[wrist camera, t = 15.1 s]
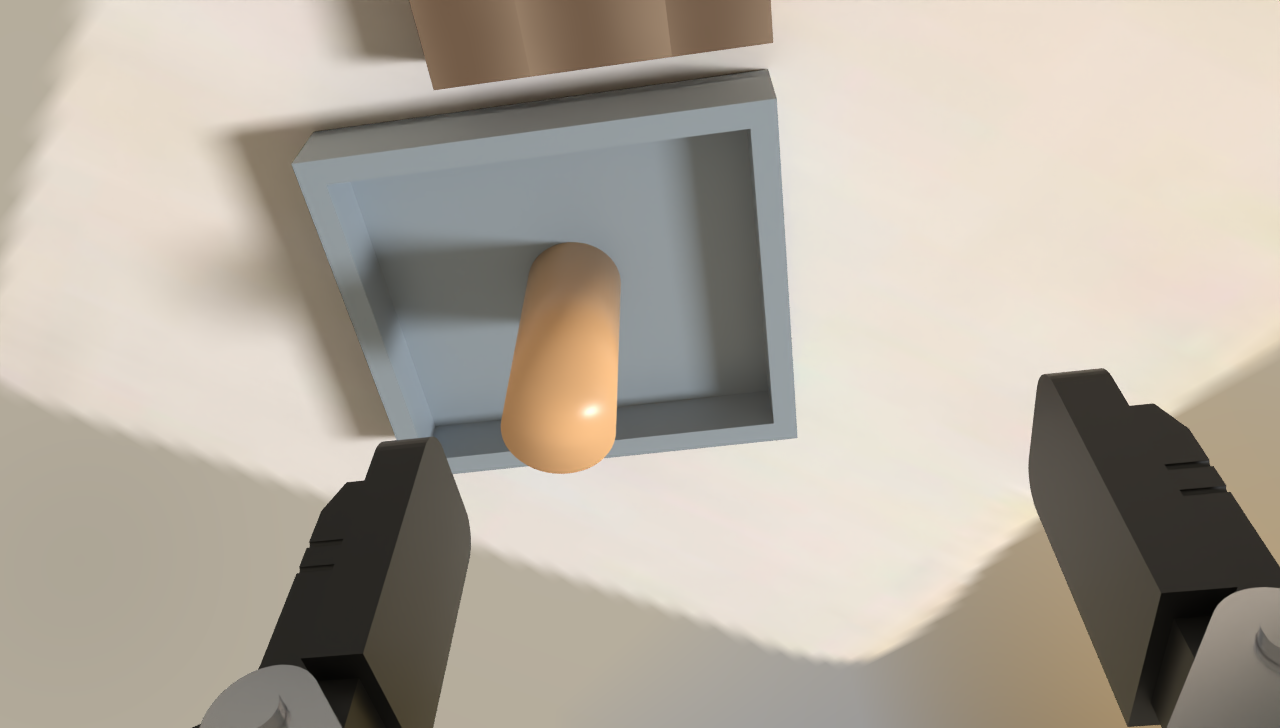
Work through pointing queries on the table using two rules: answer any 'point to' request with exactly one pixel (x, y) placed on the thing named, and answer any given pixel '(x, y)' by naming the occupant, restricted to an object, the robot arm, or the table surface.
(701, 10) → the wooden square hole block
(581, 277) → the orange plug
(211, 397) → the table surface
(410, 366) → the slate tray
